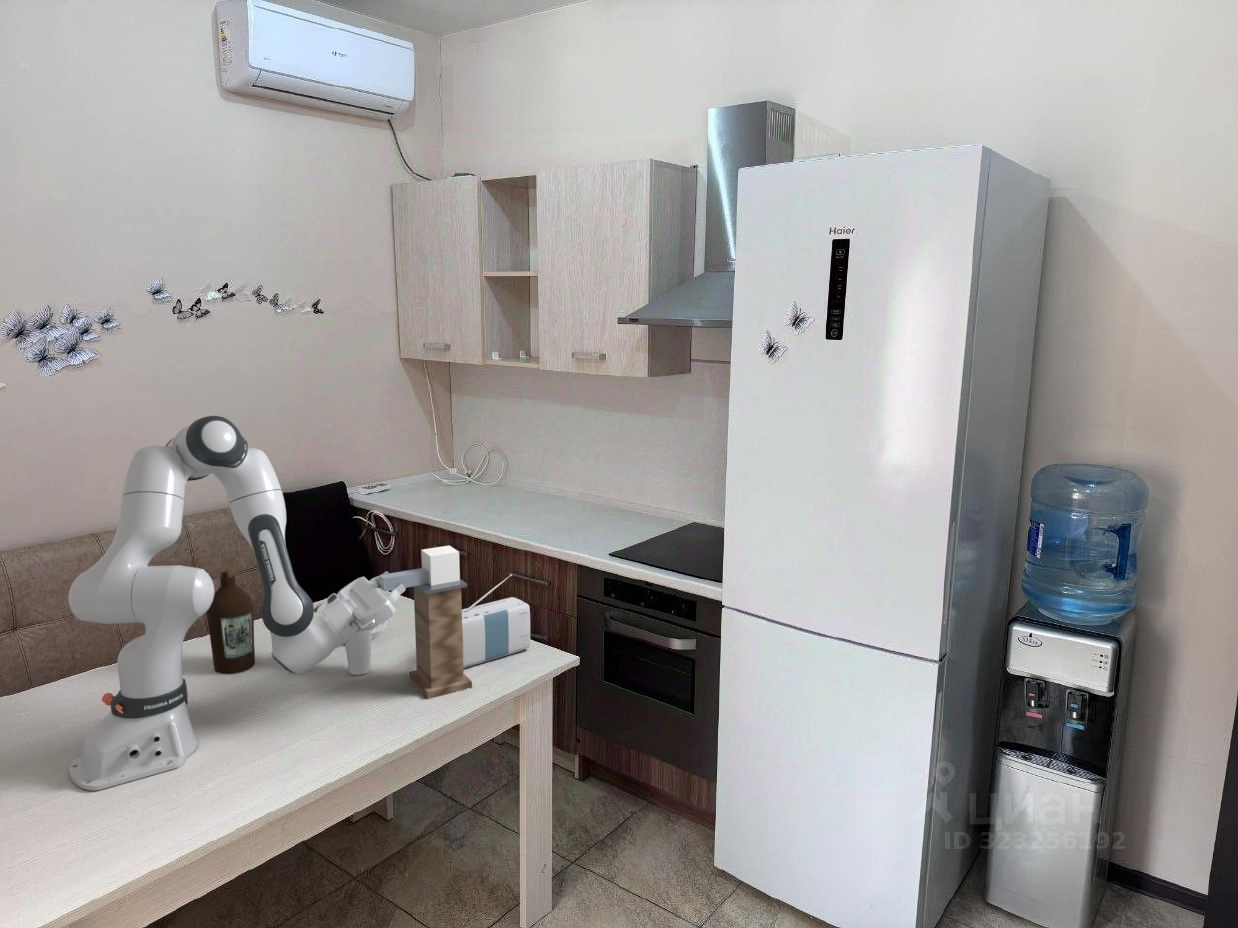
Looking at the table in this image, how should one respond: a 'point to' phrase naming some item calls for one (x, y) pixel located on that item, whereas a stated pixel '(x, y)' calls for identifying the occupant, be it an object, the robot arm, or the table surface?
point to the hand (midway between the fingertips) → (396, 579)
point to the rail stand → (439, 639)
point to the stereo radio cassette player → (494, 629)
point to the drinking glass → (359, 653)
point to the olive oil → (231, 627)
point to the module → (427, 570)
